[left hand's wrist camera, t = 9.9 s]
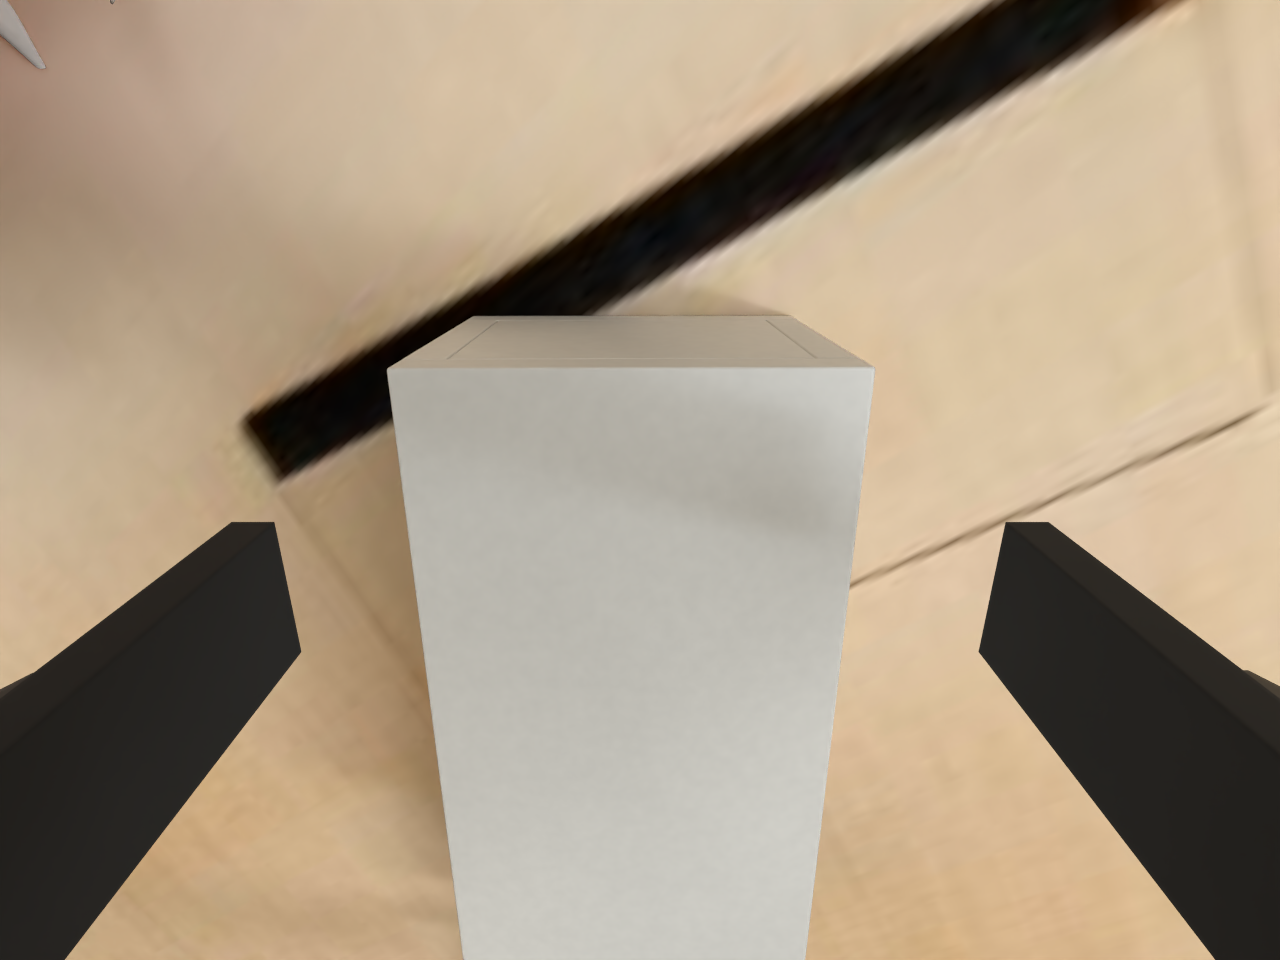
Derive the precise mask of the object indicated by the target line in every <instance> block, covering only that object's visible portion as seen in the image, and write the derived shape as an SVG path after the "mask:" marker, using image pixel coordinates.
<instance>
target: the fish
mask: <svg viewBox="0 0 1280 960" xmlns="http://www.w3.org/2000/svg"><path fill="white" fill-rule="evenodd" d="M114 1H115V0H110V2H111V4H113V3H114ZM0 35H1V36H2V37H3V38H4V39H6V40H7V41H8V42H9V43H10V44H11V45H12V46H13V47H15V48H16V49H17V50H18V51H19V52H20V53H21V54H22V55H23V56H25V57H26V58H27V59H28V60H29V61H30V62H31V63H32V64H33V65H34V66H36V67H37V68H39V69H45V68H46V67H45V65H44V63H43V61H42V59H41V57H40V56H39V54H38V52H37V50H36V49H35V47H34V45H33V43H32V41H31V39H30V37H29V35H28V33H27V32H26V30H25V28H24V26H23V24H22V22H21V21H20V19H19V17H18V16H17V14H16V12H15V11H14V9H13V8H12V7H11V5H10V4H9V2H8V1H7V0H0Z"/></svg>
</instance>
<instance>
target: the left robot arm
mask: <svg viewBox="0 0 1280 960" xmlns="http://www.w3.org/2000/svg"><path fill="white" fill-rule="evenodd" d="M300 653H301V648H300V643H299V639H298V634H297V629H296V624H295V619H294V615H293V610H292V605H291V600H290V595H289V591H288V586H287V581H286V576H285V571H284V567H283V562H282V557H281V552H280V547H279V543H278V538H277V533H276V528H275V523H274V522H231V523H230V524H229V525H227V526H226V527H225V528H223V529H222V530H221V531H219V532H218V533H217V534H215V535H214V536H213V537H211V538H210V539H209V540H208V541H206V542H205V543H204V544H202V545H201V546H200V547H198V548H197V549H196V550H194V551H193V552H192V553H190V554H189V555H188V556H187V557H185V558H184V559H183V560H181V561H180V562H179V563H177V564H176V565H175V566H173V567H172V568H171V569H169V570H168V571H167V572H166V573H164V574H163V575H162V576H160V577H159V578H158V579H156V580H155V581H154V582H152V583H151V584H150V585H148V586H147V587H146V588H145V589H143V590H142V591H141V592H139V593H138V594H137V595H135V596H134V597H133V598H131V599H130V600H129V601H127V602H126V603H125V604H124V605H122V606H121V607H120V608H118V609H117V610H116V611H114V612H113V613H112V614H110V615H109V616H108V617H106V618H105V619H104V620H103V621H101V622H100V623H99V624H97V625H96V626H95V627H93V628H92V629H91V630H89V631H88V632H87V633H85V634H84V635H83V636H82V637H80V638H79V639H78V640H76V641H75V642H74V643H72V644H71V645H70V646H68V647H67V648H66V649H64V650H63V651H62V652H61V653H59V654H58V655H57V656H55V657H54V658H53V659H51V660H50V661H49V662H47V663H46V664H45V665H43V666H42V667H41V668H40V669H38V670H37V671H36V672H34V673H32V674H30V675H28V676H26V677H24V678H22V679H20V680H18V681H16V682H14V683H12V684H10V685H8V686H6V687H4V688H2V689H0V960H65V959H66V957H67V956H68V955H69V953H70V952H71V951H72V950H73V948H74V947H75V946H76V944H77V943H78V942H79V940H80V939H81V938H82V936H83V935H84V934H85V933H86V931H87V930H88V929H89V927H90V926H91V925H92V923H93V922H94V921H95V920H96V918H97V917H98V916H99V914H100V913H101V912H102V910H103V909H104V908H105V907H106V905H107V904H108V903H109V901H110V900H111V899H112V897H113V896H114V895H115V894H116V892H117V891H118V890H119V888H120V887H121V886H122V884H123V883H124V882H125V881H126V879H127V878H128V877H129V875H130V874H131V873H132V871H133V870H134V869H135V868H136V866H137V865H138V864H139V862H140V861H141V860H142V858H143V857H144V856H145V855H146V853H147V852H148V851H149V849H150V848H151V847H152V845H153V844H154V843H155V841H156V840H157V839H158V838H159V836H160V835H161V834H162V832H163V831H164V830H165V828H166V827H167V826H168V825H169V823H170V822H171V821H172V819H173V818H174V817H175V815H176V814H177V813H178V812H179V810H180V809H181V808H182V806H183V805H184V804H185V802H186V801H187V800H188V799H189V797H190V796H191V795H192V793H193V792H194V791H195V789H196V788H197V787H198V786H199V784H200V783H201V782H202V780H203V779H204V778H205V776H206V775H207V774H208V773H209V771H210V770H211V769H212V767H213V766H214V765H215V763H216V762H217V761H218V760H219V758H220V757H221V756H222V754H223V753H224V752H225V750H226V749H227V748H228V746H229V745H230V744H231V743H232V741H233V740H234V739H235V737H236V736H237V735H238V733H239V732H240V731H241V730H242V728H243V727H244V726H245V724H246V723H247V722H248V720H249V719H250V718H251V717H252V715H253V714H254V713H255V711H256V710H257V709H258V707H259V706H260V705H261V704H262V702H263V701H264V700H265V698H266V697H267V696H268V694H269V693H270V692H271V691H272V689H273V688H274V687H275V685H276V684H277V683H278V681H279V680H280V679H281V678H282V676H283V675H284V674H285V672H286V671H287V670H288V668H289V667H290V666H291V665H292V663H293V662H294V661H295V659H296V658H297V657H298V655H299V654H300ZM979 653H980V654H981V655H982V657H983V658H984V659H985V661H986V662H987V663H988V665H989V666H990V667H991V668H992V670H993V671H994V672H995V674H996V675H997V676H998V678H999V679H1000V680H1001V681H1002V683H1003V684H1004V685H1005V687H1006V688H1007V689H1008V691H1009V692H1010V693H1011V694H1012V696H1013V697H1014V698H1015V700H1016V701H1017V702H1018V704H1019V705H1020V706H1021V707H1022V709H1023V710H1024V711H1025V713H1026V714H1027V715H1028V717H1029V718H1030V719H1031V720H1032V722H1033V723H1034V724H1035V726H1036V727H1037V728H1038V730H1039V731H1040V732H1041V733H1042V735H1043V736H1044V737H1045V739H1046V740H1047V741H1048V743H1049V744H1050V745H1051V746H1052V748H1053V749H1054V750H1055V752H1056V753H1057V754H1058V756H1059V757H1060V758H1061V760H1062V761H1063V762H1064V763H1065V765H1066V766H1067V767H1068V769H1069V770H1070V771H1071V773H1072V774H1073V775H1074V776H1075V778H1076V779H1077V780H1078V782H1079V783H1080V784H1081V786H1082V787H1083V788H1084V789H1085V791H1086V792H1087V793H1088V795H1089V796H1090V797H1091V799H1092V800H1093V801H1094V802H1095V804H1096V805H1097V806H1098V808H1099V809H1100V810H1101V812H1102V813H1103V814H1104V815H1105V817H1106V818H1107V819H1108V821H1109V822H1110V823H1111V825H1112V826H1113V827H1114V828H1115V830H1116V831H1117V832H1118V834H1119V835H1120V836H1121V838H1122V839H1123V840H1124V841H1125V843H1126V844H1127V845H1128V847H1129V848H1130V849H1131V851H1132V852H1133V853H1134V855H1135V856H1136V857H1137V858H1138V860H1139V861H1140V862H1141V864H1142V865H1143V866H1144V868H1145V869H1146V870H1147V871H1148V873H1149V874H1150V875H1151V877H1152V878H1153V879H1154V881H1155V882H1156V883H1157V884H1158V886H1159V887H1160V888H1161V890H1162V891H1163V892H1164V894H1165V895H1166V896H1167V897H1168V899H1169V900H1170V901H1171V903H1172V904H1173V905H1174V907H1175V908H1176V909H1177V910H1178V912H1179V913H1180V914H1181V916H1182V917H1183V918H1184V920H1185V921H1186V922H1187V923H1188V925H1189V926H1190V927H1191V929H1192V930H1193V931H1194V933H1195V934H1196V935H1197V936H1198V938H1199V939H1200V940H1201V942H1202V943H1203V944H1204V946H1205V947H1206V948H1207V950H1208V951H1209V952H1210V953H1211V955H1212V956H1213V957H1214V959H1215V960H1280V686H1278V685H1276V684H1274V683H1272V682H1270V681H1268V680H1266V679H1264V678H1262V677H1260V676H1258V675H1256V674H1254V673H1252V672H1250V671H1248V670H1242V669H1240V668H1239V667H1238V666H1237V665H1235V664H1234V663H1233V662H1231V661H1230V660H1229V659H1227V658H1226V657H1225V656H1223V655H1222V654H1221V653H1219V652H1218V651H1217V650H1216V649H1214V648H1213V647H1212V646H1210V645H1209V644H1208V643H1206V642H1205V641H1204V640H1202V639H1201V638H1200V637H1198V636H1197V635H1196V634H1195V633H1193V632H1192V631H1191V630H1189V629H1188V628H1187V627H1185V626H1184V625H1183V624H1181V623H1180V622H1179V621H1177V620H1176V619H1175V618H1174V617H1172V616H1171V615H1170V614H1168V613H1167V612H1166V611H1164V610H1163V609H1162V608H1160V607H1159V606H1158V605H1156V604H1155V603H1154V602H1153V601H1151V600H1150V599H1149V598H1147V597H1146V596H1145V595H1143V594H1142V593H1141V592H1139V591H1138V590H1137V589H1135V588H1134V587H1133V586H1132V585H1130V584H1129V583H1128V582H1126V581H1125V580H1124V579H1122V578H1121V577H1120V576H1118V575H1117V574H1116V573H1114V572H1113V571H1112V570H1111V569H1109V568H1108V567H1107V566H1105V565H1104V564H1103V563H1101V562H1100V561H1099V560H1097V559H1096V558H1095V557H1093V556H1092V555H1091V554H1090V553H1088V552H1087V551H1086V550H1084V549H1083V548H1082V547H1080V546H1079V545H1078V544H1076V543H1075V542H1074V541H1072V540H1071V539H1070V538H1069V537H1067V536H1066V535H1065V534H1063V533H1062V532H1061V531H1059V530H1058V529H1057V528H1055V527H1054V526H1053V525H1051V524H1050V523H1049V522H1006V523H1005V528H1004V533H1003V538H1002V543H1001V547H1000V552H999V557H998V562H997V567H996V571H995V576H994V581H993V586H992V591H991V595H990V600H989V605H988V610H987V615H986V619H985V624H984V629H983V634H982V639H981V643H980V648H979Z"/></svg>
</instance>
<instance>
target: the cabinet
mask: <svg viewBox="0 0 1280 960" xmlns="http://www.w3.org/2000/svg"><path fill="white" fill-rule="evenodd" d="M387 375H388V382H389V390H390V398H391V406H392V413H393V421H394V429H395V437H396V444H397V452H398V460H399V467H400V475H401V483H402V491H403V498H404V506H405V514H406V521H407V529H408V537H409V545H410V552H411V560H412V568H413V575H414V583H415V591H416V599H417V606H418V614H419V622H420V629H421V637H422V645H423V653H424V660H425V668H426V676H427V684H428V691H429V699H430V707H431V714H432V722H433V730H434V738H435V745H436V753H437V761H438V768H439V776H440V784H441V792H442V799H443V807H444V815H445V822H446V830H447V838H448V846H449V853H450V861H451V869H452V876H453V884H454V892H455V900H456V907H457V915H458V923H459V931H460V938H461V946H462V954H463V960H805V957H806V948H807V940H808V931H809V923H810V915H811V906H812V898H813V889H814V881H815V872H816V864H817V856H818V847H819V839H820V830H821V822H822V814H823V805H824V797H825V788H826V780H827V772H828V763H829V755H830V746H831V738H832V729H833V721H834V713H835V704H836V696H837V687H838V679H839V671H840V662H841V654H842V645H843V637H844V628H845V620H846V612H847V603H848V595H849V586H850V578H851V570H852V561H853V553H854V544H855V536H856V528H857V519H858V511H859V502H860V494H861V485H862V477H863V469H864V460H865V452H866V443H867V435H868V427H869V418H870V410H871V401H872V393H873V384H874V376H875V367H873V366H872V365H870V364H869V363H867V362H865V361H864V360H862V359H860V358H859V357H857V356H855V355H854V354H852V353H850V352H849V351H847V350H846V349H844V348H842V347H841V346H839V345H837V344H836V343H834V342H833V341H831V340H829V339H828V338H826V337H824V336H823V335H821V334H819V333H818V332H816V331H815V330H813V329H811V328H810V327H808V326H806V325H805V324H803V323H802V322H800V321H798V320H797V319H795V318H794V317H792V316H473V317H471V318H470V319H468V320H466V321H465V322H463V323H462V324H460V325H458V326H457V327H455V328H453V329H452V330H450V331H448V332H447V333H445V334H443V335H442V336H440V337H438V338H437V339H435V340H433V341H432V342H430V343H428V344H427V345H425V346H423V347H422V348H420V349H419V350H417V351H415V352H414V353H412V354H410V355H409V356H407V357H405V358H404V359H402V360H401V361H399V362H397V363H396V364H394V365H392V366H391V367H389V368H388V369H387Z"/></svg>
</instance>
